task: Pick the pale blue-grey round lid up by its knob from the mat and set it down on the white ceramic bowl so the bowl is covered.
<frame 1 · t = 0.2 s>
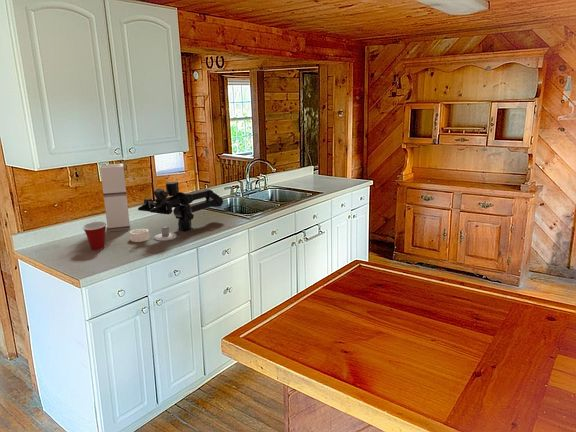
hand: (144, 210, 218), 16 cm above the table, tool horizontal, fingers open, 9 cm apart
plastic cup: (97, 248, 213), on the table
bowl: (140, 239, 226), on the table
lid: (165, 237, 227), resting on mat
mat: (165, 238, 228), on the table
mini fridge: (119, 228, 247), on the table
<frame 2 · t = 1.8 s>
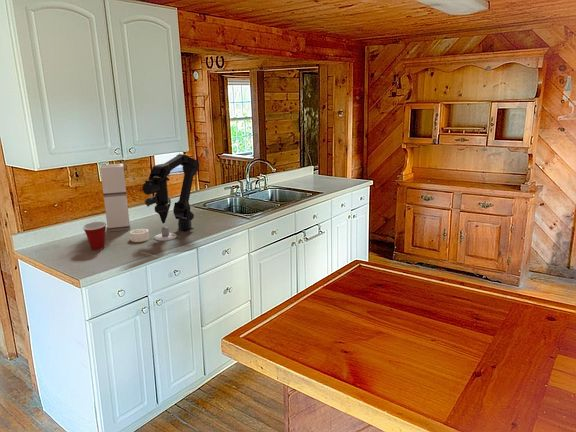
hand: (164, 220, 225), 9 cm above the table, tool pointing down, fingers open, 9 cm apart
nothing on the table moved.
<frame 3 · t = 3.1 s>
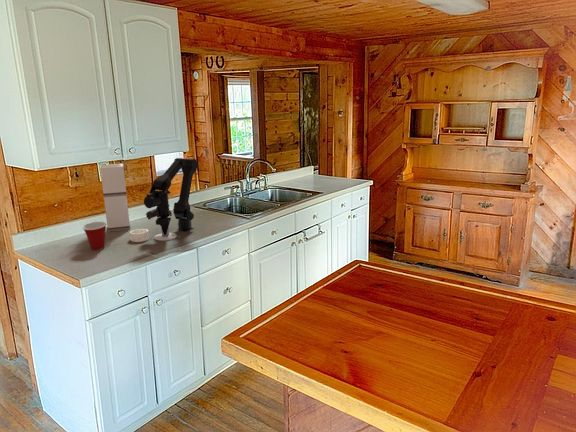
hand: (165, 233, 227), 3 cm above the table, tool pointing down, fingers closed on lid, 4 cm apart
lid: (165, 237, 227), resting on mat, touching gripper
everything else where it was.
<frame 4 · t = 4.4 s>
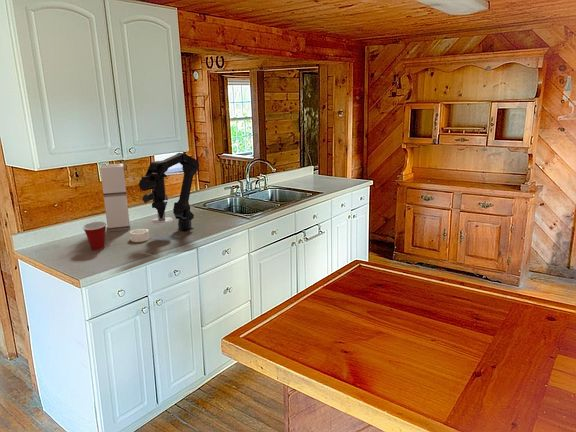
hand: (161, 217, 224), 11 cm above the table, tool pointing down, fingers closed on lid, 4 cm apart
lid: (162, 221, 225), point 9 cm above the table, touching gripper
everything else where it was.
when the fingers open (8 cm above the table, at t = 5.9 s): lid drops 1 cm, resting on bowl.
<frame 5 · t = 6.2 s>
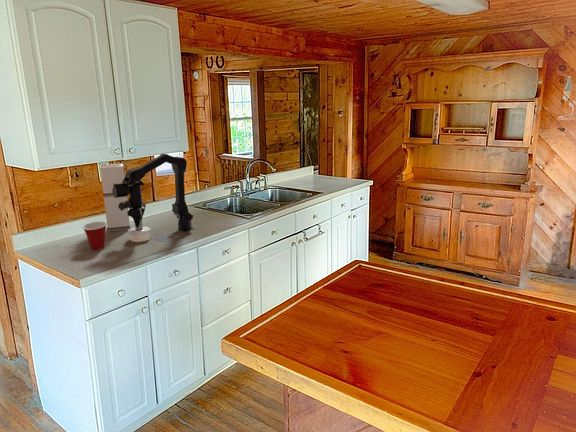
hand: (138, 225, 224), 8 cm above the table, tool pointing down, fingers open, 7 cm apart
lid: (139, 231, 224), point 4 cm above the table, touching bowl
everything else where it was.
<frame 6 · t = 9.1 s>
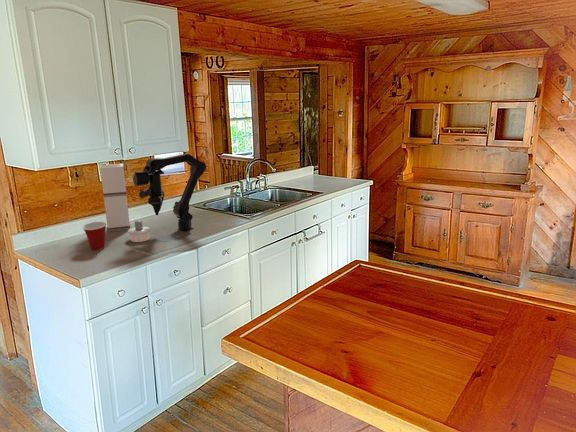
hand: (158, 212, 230), 12 cm above the table, tool pointing down, fingers open, 9 cm apart
nothing on the table moved.
at the end: lid 0.0 cm from the bowl (horizontally); lid point 4.5 cm above the table; lid tilted 0° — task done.
